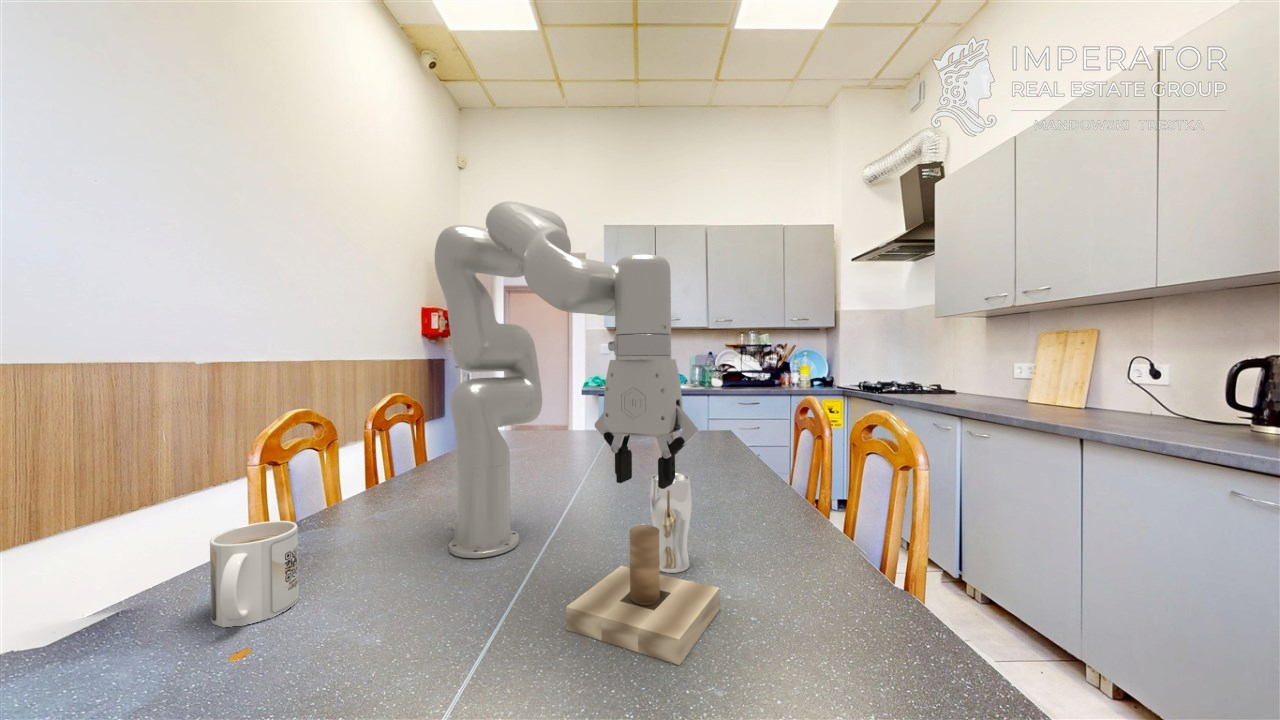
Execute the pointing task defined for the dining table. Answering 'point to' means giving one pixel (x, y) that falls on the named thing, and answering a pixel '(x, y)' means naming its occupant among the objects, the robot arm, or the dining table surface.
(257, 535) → the mug
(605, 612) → the board
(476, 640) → the dining table surface
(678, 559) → the beer glass
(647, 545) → the peg
